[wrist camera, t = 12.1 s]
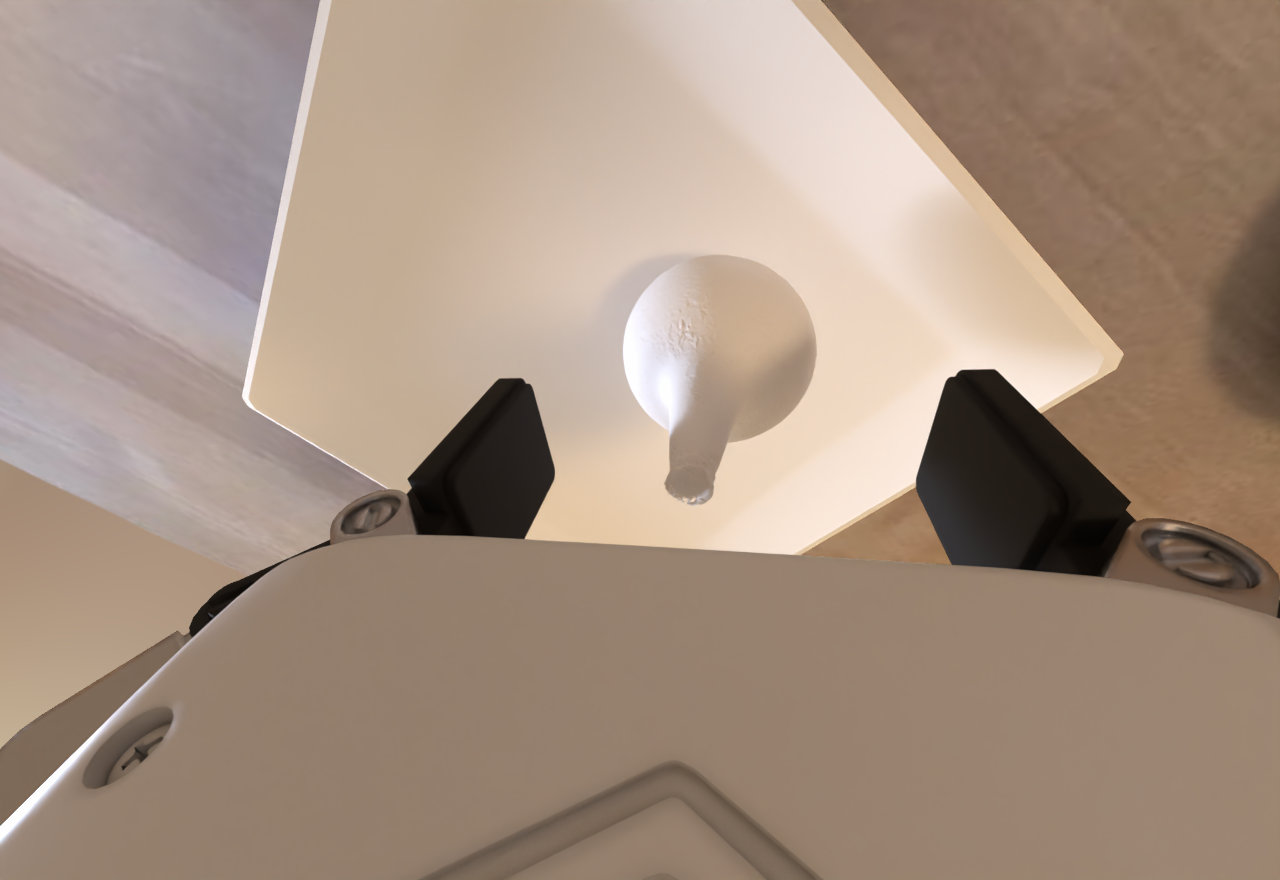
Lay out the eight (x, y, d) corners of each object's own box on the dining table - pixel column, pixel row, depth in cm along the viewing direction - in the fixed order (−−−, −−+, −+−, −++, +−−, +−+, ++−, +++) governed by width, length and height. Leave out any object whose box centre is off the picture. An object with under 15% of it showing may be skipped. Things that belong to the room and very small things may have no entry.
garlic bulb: (848, 307, 15) (937, 443, 9) (740, 436, 19) (745, 602, 12) (686, 207, 14) (649, 274, 8) (604, 363, 18) (532, 498, 11)
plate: (270, 385, 24) (236, 404, 22) (460, -387, 10) (406, -490, 8) (652, 618, 30) (648, 647, 29) (1094, 339, 16) (1135, 364, 15)
